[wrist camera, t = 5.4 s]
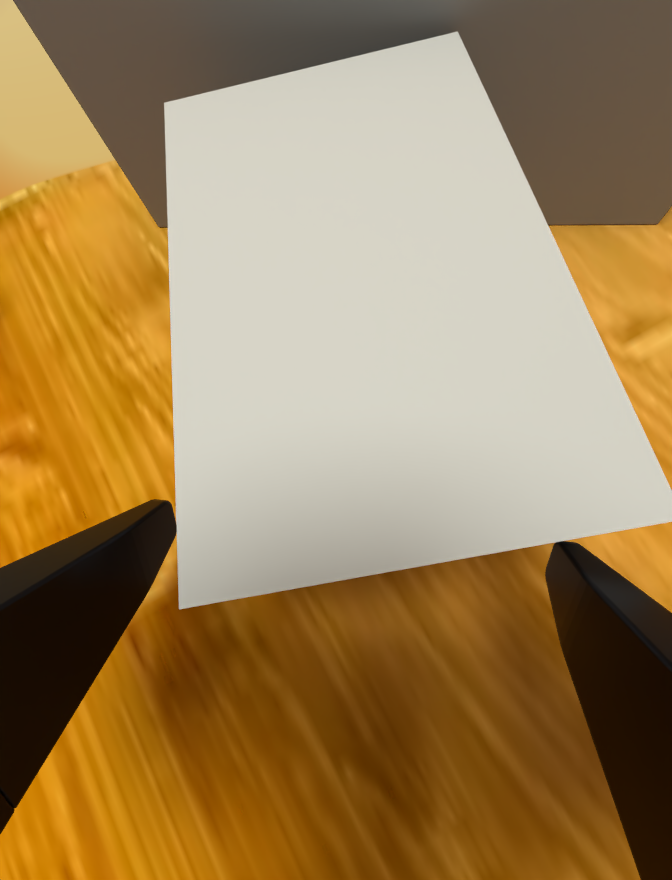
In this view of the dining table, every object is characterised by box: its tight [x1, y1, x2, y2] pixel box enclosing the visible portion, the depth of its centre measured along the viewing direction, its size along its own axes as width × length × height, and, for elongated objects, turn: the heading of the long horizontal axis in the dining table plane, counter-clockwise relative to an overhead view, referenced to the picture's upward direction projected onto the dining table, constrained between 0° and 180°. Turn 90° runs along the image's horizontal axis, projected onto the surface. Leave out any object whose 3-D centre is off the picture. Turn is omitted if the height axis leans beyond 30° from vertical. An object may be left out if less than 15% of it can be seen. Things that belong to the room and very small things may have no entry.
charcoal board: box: [13, 0, 672, 227], centre depth 16 cm, size 26×2×10 cm, turn 84°
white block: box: [164, 32, 672, 609], centre depth 14 cm, size 16×10×8 cm, turn 10°
